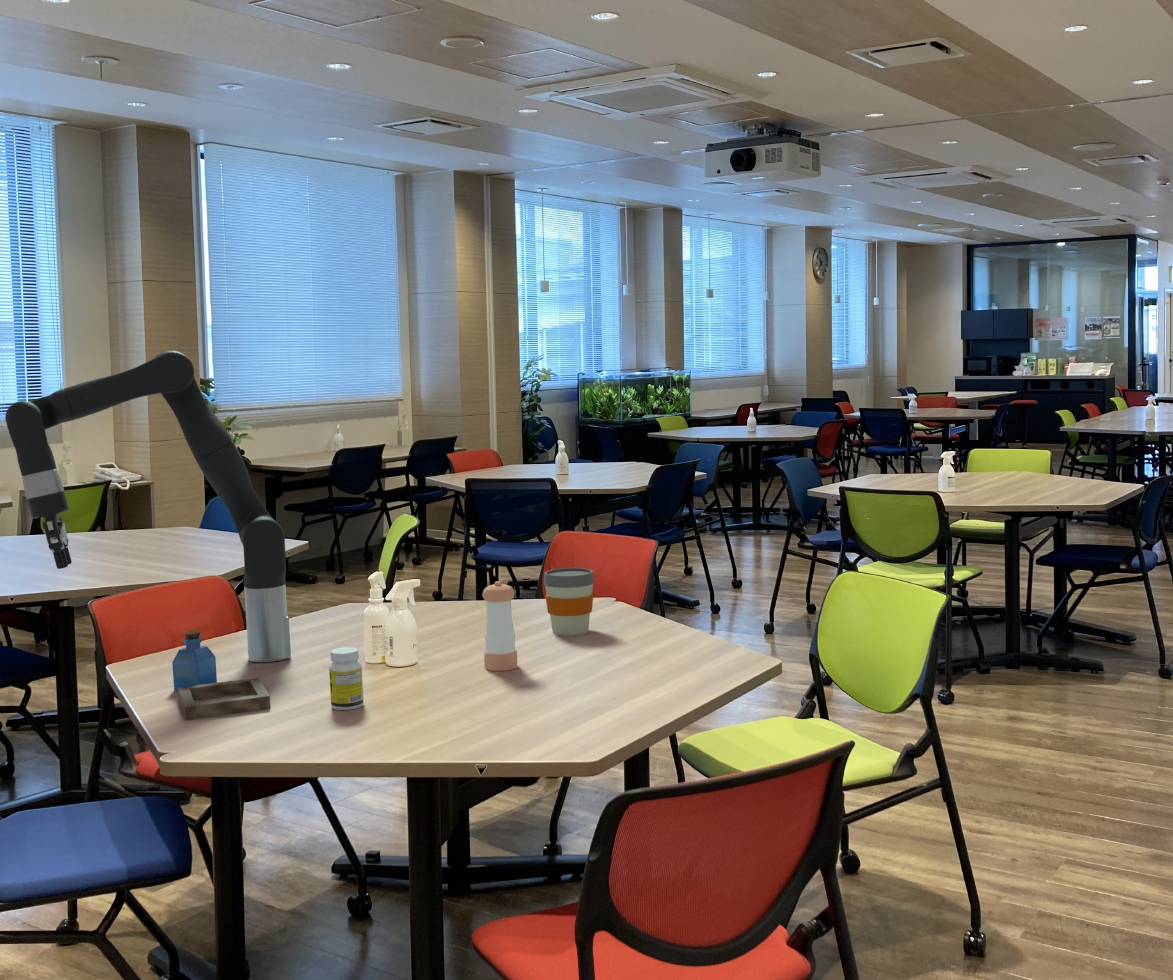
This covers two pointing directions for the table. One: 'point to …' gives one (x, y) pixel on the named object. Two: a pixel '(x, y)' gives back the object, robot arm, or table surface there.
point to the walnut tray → (225, 706)
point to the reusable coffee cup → (569, 599)
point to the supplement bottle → (346, 679)
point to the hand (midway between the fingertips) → (64, 566)
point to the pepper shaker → (499, 628)
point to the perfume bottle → (193, 663)
